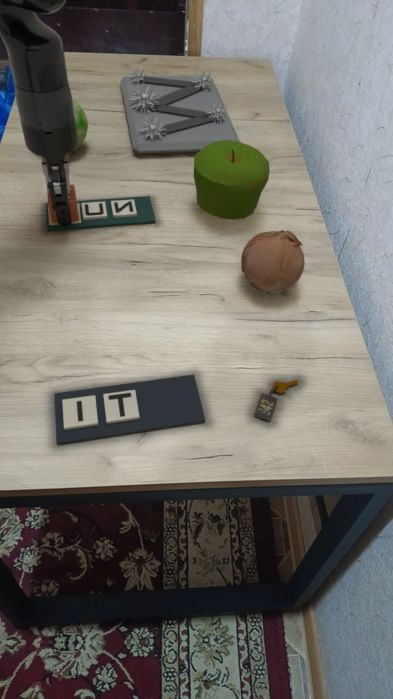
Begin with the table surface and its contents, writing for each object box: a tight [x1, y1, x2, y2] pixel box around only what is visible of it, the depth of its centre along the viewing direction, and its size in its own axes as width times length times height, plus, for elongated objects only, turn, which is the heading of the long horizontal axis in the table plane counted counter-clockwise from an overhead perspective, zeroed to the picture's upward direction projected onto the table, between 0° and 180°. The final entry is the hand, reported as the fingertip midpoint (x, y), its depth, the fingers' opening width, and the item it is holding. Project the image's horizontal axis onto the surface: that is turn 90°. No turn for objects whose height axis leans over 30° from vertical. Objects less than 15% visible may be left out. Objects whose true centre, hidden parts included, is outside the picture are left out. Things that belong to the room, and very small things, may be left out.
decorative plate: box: [119, 65, 241, 155], centre depth 103 cm, size 30×22×7 cm
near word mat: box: [53, 373, 206, 446], centre depth 61 cm, size 18×7×1 cm, turn 102°
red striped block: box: [46, 184, 79, 223], centre depth 81 cm, size 4×4×4 cm
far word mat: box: [45, 195, 157, 232], centre depth 84 cm, size 18×7×1 cm, turn 102°
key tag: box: [253, 379, 299, 422], centre depth 64 cm, size 8×3×1 cm, turn 144°
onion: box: [240, 229, 306, 295], centre depth 73 cm, size 10×9×10 cm
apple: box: [193, 140, 270, 221], centre depth 83 cm, size 12×12×11 cm
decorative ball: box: [72, 98, 89, 151], centre depth 92 cm, size 10×10×10 cm
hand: (64, 213), depth 83 cm, fingers closed on red striped block, 4 cm apart
